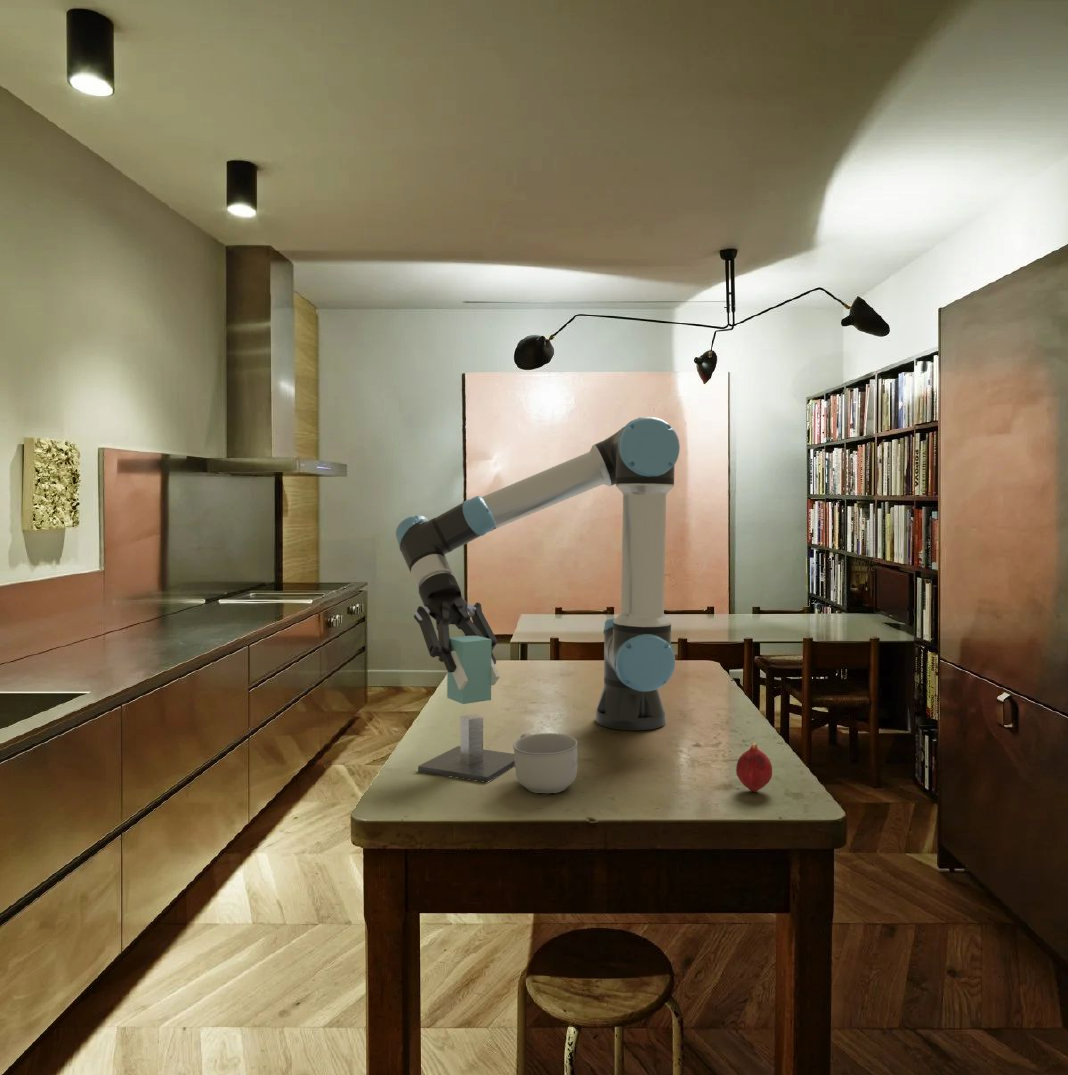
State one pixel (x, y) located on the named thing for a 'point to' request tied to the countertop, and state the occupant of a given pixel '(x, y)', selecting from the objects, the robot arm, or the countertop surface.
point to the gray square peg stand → (470, 756)
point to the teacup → (546, 761)
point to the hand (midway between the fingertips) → (479, 682)
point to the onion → (754, 769)
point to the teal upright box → (471, 669)
